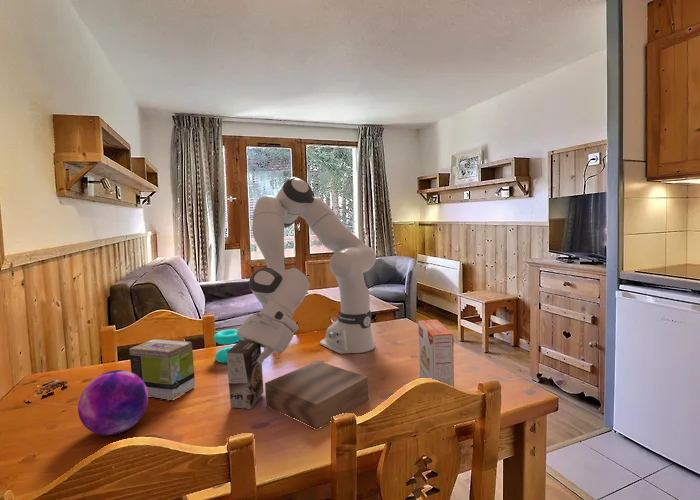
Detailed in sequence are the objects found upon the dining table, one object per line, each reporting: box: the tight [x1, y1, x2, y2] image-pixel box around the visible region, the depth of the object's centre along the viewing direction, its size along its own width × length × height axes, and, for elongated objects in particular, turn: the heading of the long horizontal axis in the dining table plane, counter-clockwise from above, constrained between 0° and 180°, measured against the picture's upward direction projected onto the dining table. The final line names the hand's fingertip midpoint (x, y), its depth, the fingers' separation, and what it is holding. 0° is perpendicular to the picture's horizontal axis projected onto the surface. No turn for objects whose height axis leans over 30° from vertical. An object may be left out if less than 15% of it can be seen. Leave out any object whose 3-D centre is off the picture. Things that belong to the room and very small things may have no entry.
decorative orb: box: [77, 369, 149, 436], centre depth 100 cm, size 15×15×15 cm
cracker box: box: [417, 319, 455, 388], centre depth 110 cm, size 14×6×21 cm, turn 5°
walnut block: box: [264, 360, 369, 430], centre depth 112 cm, size 20×20×7 cm
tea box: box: [128, 338, 196, 401], centre depth 121 cm, size 15×10×15 cm, turn 71°
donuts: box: [213, 328, 241, 364], centre depth 147 cm, size 10×10×10 cm
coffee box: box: [226, 340, 264, 410], centre depth 113 cm, size 9×6×16 cm
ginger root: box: [34, 378, 69, 396], centre depth 123 cm, size 7×12×4 cm, turn 176°
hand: (247, 358), depth 114 cm, fingers closed on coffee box, 8 cm apart
